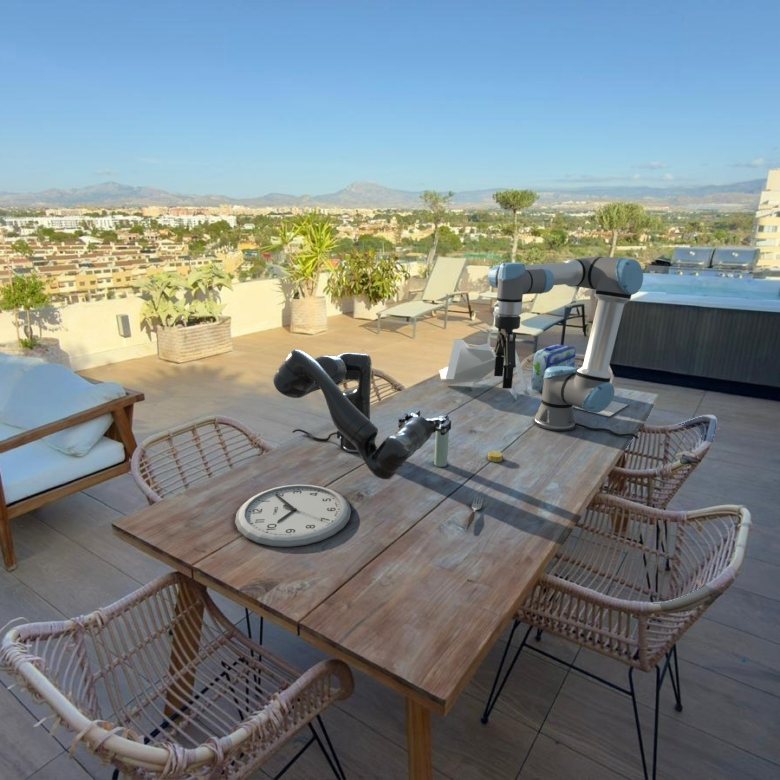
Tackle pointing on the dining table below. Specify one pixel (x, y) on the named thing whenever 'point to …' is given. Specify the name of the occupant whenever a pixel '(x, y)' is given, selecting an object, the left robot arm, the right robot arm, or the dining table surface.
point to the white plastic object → (475, 365)
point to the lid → (495, 456)
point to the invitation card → (609, 408)
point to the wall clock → (293, 515)
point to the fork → (475, 507)
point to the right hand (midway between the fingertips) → (502, 382)
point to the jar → (441, 448)
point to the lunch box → (550, 362)
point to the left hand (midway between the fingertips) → (432, 415)
